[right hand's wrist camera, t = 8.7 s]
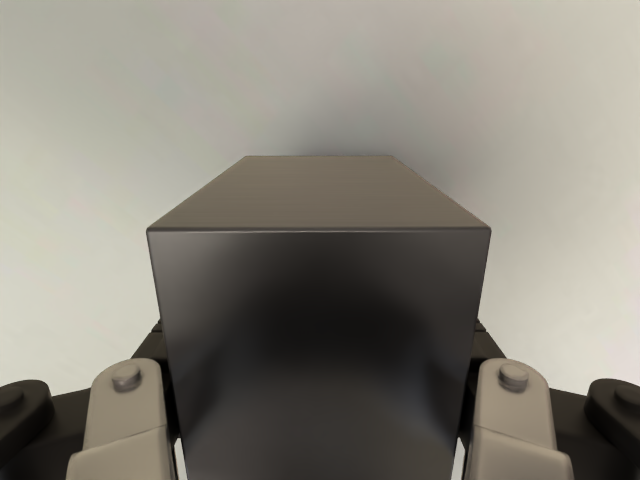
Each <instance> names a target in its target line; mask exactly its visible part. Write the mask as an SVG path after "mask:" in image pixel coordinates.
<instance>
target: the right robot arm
mask: <svg viewBox="0 0 640 480" xmlns="http://www.w3.org/2000/svg"><path fill="white" fill-rule="evenodd" d="M458 437H460V439H461V441H462V444H463V446H464V449H465V453H464V459H463V467H462V475H461V480H640V387H639V386H637V385H634V384H632V383H629V382H625V381H621V380H617V379H607V378H606V379H598V380H595V381H593V382H592V383H591V385H590V387H589V390H588V394H587V396H584V395H579V394H575V393H570V392H565V391H561V390H556V389H552V388H549V386H548V383H547V381H546V380H545V378H544V377H543V376H542V375H541V374H540V373H539V372H537V371H536V370H535V369H533V368H532V367H530V366H528V365H526V364H524V363H521V362H519V361H515V360H511V359H507V358H506V356H505V355H504V354H503V352H502V351H501V350H500V348H499V347H498V346H497V344H496V343H495V341H494V340H493V339H492V337H491V336H490V335H489V333H488V332H486V329H485V328H484V326H483V325H482V324H481V323H480V321H479V319H478V318H477V323H476V329H475V335H474V341H473V347H472V353H471V360H470V366H469V372H468V378H467V384H466V390H465V396H464V402H463V409H462V415H461V421H460V427H459V433H458ZM177 438H181V437H180V431H179V425H178V419H177V413H176V407H175V402H174V396H173V390H172V384H171V378H170V372H169V366H168V360H167V354H166V348H165V342H164V336H163V330H162V324H161V318H160V319H159V321H158V324H156V325H155V326H154V327H153V329H152V330H151V333H149V334H148V336H147V337H146V338H145V340H144V341H143V342H142V344H141V345H140V346H139V348H138V349H137V351H136V352H135V353H134V355H133V356H132V357H131V359H129V360H125V361H121V362H119V363H116V364H114V365H112V366H110V367H108V368H107V369H105V370H104V371H103V372H101V373H100V374H99V375H98V376H97V377H96V378H95V380H94V381H93V383H92V386H91V388H88V389H84V390H80V391H75V392H71V393H66V394H61V395H57V396H51V393H50V390H49V387H48V385H47V384H46V383H45V382H43V381H40V380H23V381H18V382H14V383H10V384H7V385H5V386H2V387H0V480H179V475H178V467H177V459H176V454H175V448H174V445H175V442H176V440H177Z"/></svg>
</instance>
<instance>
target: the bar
mask: <svg viewBox="0 0 640 480" xmlns="http://www.w3.org/2000/svg"><path fill="white" fill-rule="evenodd" d="M146 235H147V241H148V247H149V253H150V259H151V265H152V271H153V277H154V283H155V289H156V295H157V301H158V306H159V312H160V318H161V324H162V330H163V336H164V342H165V348H166V354H167V360H168V366H169V372H170V378H171V384H172V390H173V396H174V402H175V407H176V413H177V419H178V425H179V431H180V437H181V443H182V449H183V455H184V461H185V467H186V473H187V479H188V480H451V476H452V470H453V464H454V457H455V451H456V445H457V439H458V433H459V427H460V421H461V415H462V409H463V402H464V396H465V390H466V384H467V378H468V372H469V366H470V360H471V353H472V347H473V341H474V335H475V329H476V323H477V317H478V311H479V305H480V298H481V292H482V286H483V280H484V274H485V268H486V262H487V256H488V250H489V243H490V237H491V228H490V227H489V226H488V225H487V224H485V223H484V222H482V221H481V220H480V219H478V218H477V217H476V216H474V215H473V214H471V213H470V212H469V211H467V210H466V209H465V208H463V207H462V206H460V205H459V204H458V203H456V202H455V201H454V200H452V199H451V198H449V197H448V196H447V195H445V194H444V193H442V192H441V191H440V190H438V189H437V188H436V187H434V186H433V185H431V184H430V183H429V182H427V181H426V180H425V179H423V178H422V177H420V176H419V175H418V174H416V173H415V172H414V171H412V170H411V169H409V168H408V167H407V166H405V165H404V164H403V163H401V162H400V161H398V160H397V159H396V158H394V157H393V156H245V157H244V158H242V159H241V160H240V161H238V162H237V163H236V164H234V165H233V166H231V167H230V168H229V169H227V170H226V171H225V172H223V173H222V174H220V175H219V176H218V177H216V178H215V179H214V180H212V181H211V182H209V183H208V184H207V185H205V186H204V187H203V188H201V189H200V190H198V191H197V192H196V193H194V194H193V195H192V196H190V197H189V198H187V199H186V200H185V201H183V202H182V203H181V204H179V205H178V206H176V207H175V208H174V209H172V210H171V211H170V212H168V213H167V214H165V215H164V216H163V217H161V218H160V219H159V220H157V221H156V222H154V223H153V224H152V225H150V226H149V227H148V228H147V230H146Z"/></svg>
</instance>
